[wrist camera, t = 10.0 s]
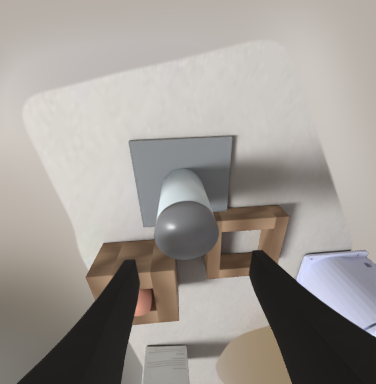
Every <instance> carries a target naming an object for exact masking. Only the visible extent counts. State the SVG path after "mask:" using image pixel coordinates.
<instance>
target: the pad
mask: <svg viewBox="0 0 376 384" xmlns="http://www.w3.org/2000/svg"><path fill="white" fill-rule="evenodd" d="M129 147H130V153H131V159H132V164H133V170H134V176H135V182H136V187H137V193H138V199H139V204H140V210H141V216H142V221H143V227H155V226H156V220H157V214H158V208H159V201H160V195H161V189H162V183H163V180H164V178H165V177H166V176H167V174H169V173H170V172H171V171H173V170H176V169H180V168H185V169H189V170H192V171H194V172H195V173H196V174H198V176H199V177H200V179H201V181H202V184H203V186H204V189H205V192H206V195H207V197H208V200H209V203H210V206H211V208H212V211H213V212H222V211H227V204H228V191H229V177H230V164H231V150H232V136H218V137H196V138H174V139H152V140H130V141H129Z"/></svg>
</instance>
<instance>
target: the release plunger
mask: <svg viewBox="0 0 376 384" xmlns="http://www.w3.org/2000/svg"><path fill="white" fill-rule="evenodd" d="M152 294H153V288H151V289H139V295H138V302H137V306H136V311H135V315H134V316H142V315H145V314H147V313H148V312H149V311H150V309H151V302H152Z"/></svg>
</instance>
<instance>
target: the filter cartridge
mask: <svg viewBox="0 0 376 384" xmlns="http://www.w3.org/2000/svg"><path fill="white" fill-rule="evenodd" d="M218 237H219V229H218V225H217V222H216V220H215V217H214V214H213V211H212V208H211V206H210V203H209V200H208V197H207V195H206V192H205V189H204V186H203V184H202V181H201V179H200V177H199V176H198V174H196V173H195V172H194V171H192V170H189V169H185V168H180V169H176V170H173V171H171V172H170V173H169V174H167V176H166V177H165V178H164V180H163V183H162V189H161V195H160V201H159V208H158V214H157V220H156V226H155V233H154V238H155V242H156V245H157V246H158V248H159V249H160V250H161V251H162V252H163V253H164V254H166V255H167V256H169V257H172V258H174V259H179V260H191V259H195V258H199V257H201V256H203V255H205V254H207V253H208V252H209V251H211V250H212V248H213V247H214V246H215V244H216V243H217V240H218Z"/></svg>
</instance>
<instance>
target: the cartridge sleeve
mask: <svg viewBox="0 0 376 384" xmlns="http://www.w3.org/2000/svg"><path fill="white" fill-rule="evenodd" d="M213 214H214V217H215V220H216V222H217V225H218V229H219V237H218V240H217V243H216V244H215V246H214V247H213V248H212V250H211V251H209V252H208V253H207V254H205V268H206V273H207V279H215V278H227V277H239V276H249V269H250V263H251V258H252V252H250V253H237V254H224V255H220V254H221V238H222V232H231V231H245V230H259V229H262V230H261V236H260V241H259V246H258V250H263V251H264V252H265V253H266V254H267V255H268V256H269V257H271V258H272V259H273V260H274V261H275V262H276V263H277V264H278V260H279V256H280V252H281V248H282V244H283V240H284V237H285V233H286V229H287V225H288V221H289V217H290V216H289V215H288V214H287V213H285V212H284V211H283V210H282V209H281V208H280V207H279V206H278V205H273V206H258V207H242V208H227V211H222V212H213Z"/></svg>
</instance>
